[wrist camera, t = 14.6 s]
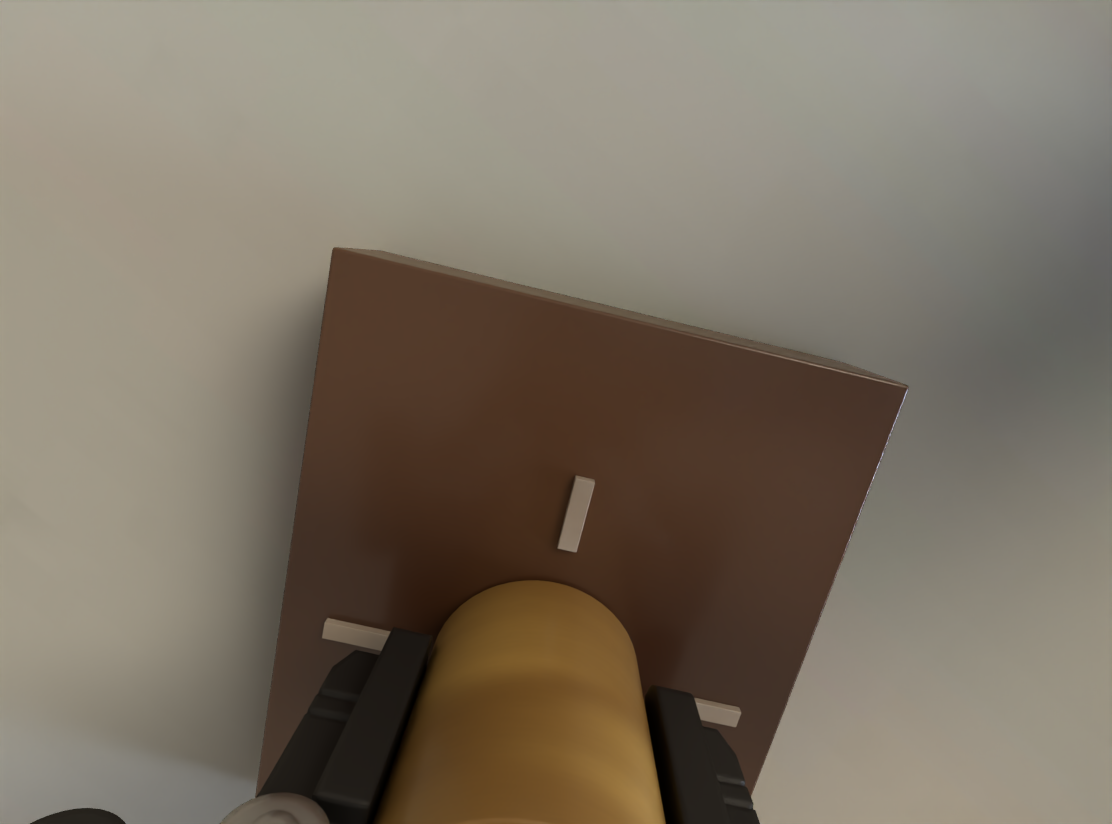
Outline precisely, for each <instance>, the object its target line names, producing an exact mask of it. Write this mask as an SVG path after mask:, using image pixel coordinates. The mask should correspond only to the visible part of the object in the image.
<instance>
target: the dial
mask: <svg viewBox="0 0 1112 824" xmlns="http://www.w3.org/2000/svg"><path fill="white" fill-rule="evenodd" d="M372 824H666V822H665V816H664V811H663V805H662V799H661V794H660V788H659V782H658V777H657V771H656V765H655V760H654V754H653V748H652V743H651V737H650V732H649V726H648V720H647V715H646V709H645V703H644V698H643V692H642V686H641V681H640V675H639V669H638V664H637V658H636V654H635V650H634V647H633V644H632V642H631V639H630V637H629V635H628V633H627V631H626V630H625V628H624V627H623V625H622V624H621V622H620V621H619V620H618V619H617V618H616V616H615V615H614V614H613V613H612V612H611V611H610V610H609V609H608V608H606V607H605V606H604V605H603V604H602V603H600V602H599V601H597V600H596V599H595V598H593V597H592V596H590V595H588V594H586V593H584V592H582V591H580V590H578V589H575V588H573V587H570V586H567V585H563V584H559V583H555V582H549V581H540V580H523V581H515V582H509V583H505V584H501V585H497V586H495V587H492V588H489V589H487V590H484V591H482V592H481V593H479V594H477V595H475V596H473V597H472V598H470V599H469V600H467V601H466V602H465V603H463V604H462V605H461V606H460V607H459V608H458V609H457V610H456V611H455V612H453V613H452V615H451V616H450V617H449V618H448V620H447V621H446V622H445V624H444V625H443V627H442V629H441V630H440V632H439V634H438V636H437V639H436V641H435V644H434V647H433V650H432V652H431V655H430V658H429V661H428V664H427V667H426V670H425V673H424V675H423V678H422V681H421V684H420V687H419V690H418V693H417V695H416V698H415V701H414V704H413V707H412V710H411V713H410V715H409V718H408V721H407V724H406V727H405V730H404V733H403V736H402V738H401V741H400V744H399V747H398V750H397V753H396V756H395V758H394V761H393V764H392V767H391V770H390V773H389V776H388V779H387V781H386V784H385V787H384V790H383V793H382V796H381V799H380V801H379V804H378V807H377V810H376V813H375V816H374V819H373V822H372Z"/></svg>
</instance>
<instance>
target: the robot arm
mask: <svg viewBox="0 0 1112 824" xmlns="http://www.w3.org/2000/svg"><path fill="white" fill-rule="evenodd" d="M431 643H432V635H428V634H423V633H419V632H414V631H410V630H405V629H400V628H396V627H393V628H392V630H391V632H390V634H389V636H388V638H387V640H386V642H385V644H384V646H383V648H382V651H381V653H380V655H377V654H373V653H368V652H363V651H359V650H355V651H353V652H352V653H350V654H349V655H348V656H346V657H345V658H344V659H342V660H341V661H340V662H338V663H337V664H335V665H334V666H333V667H332V669H331V670H330V672H329V674H328V675H327V677H326V679H325V681H324V682H323V684H322V686H321V687H320V689H319V692H318V694H316V696H315V698H314V699H313V701H312V703H311V705H310V706H309V708H308V711H307V714H305V715H304V717H303V718H302V720H301V722H300V724H299V725H298V727H297V729H296V730H295V732H294V734H293V736H292V737H291V739H290V741H289V742H288V744H287V746H286V748H285V749H284V751H283V753H282V755H281V756H280V758H279V760H278V761H277V763H276V765H275V767H274V768H273V770H272V772H271V773H270V775H269V777H268V779H267V780H266V782H265V784H264V785H263V787H262V789H261V790H260V792H259V793H258V795H257V796H256V798H254V799H251V800H249V801H247V802H246V803H244V804H242V805H240V806H239V807H237V808H236V809H235V810H233V811H232V812H231V813H230V814H229V815H227V816H226V817H225V818H224V819H223V821H222V822H221V823H220V824H372V822H373V819H374V816H375V813H376V810H377V807H378V804H379V801H380V799H381V796H382V793H383V790H384V787H385V784H386V781H387V779H388V776H389V773H390V770H391V767H392V764H393V761H394V758H395V756H396V753H397V750H398V747H399V744H400V741H401V738H402V736H403V733H404V730H405V727H406V724H407V721H408V718H409V715H410V713H411V710H412V707H413V704H414V701H415V698H416V695H417V693H418V690H419V687H420V684H421V681H422V678H423V675H424V673H425V670H426V667H427V662H428V658H429V653H430V648H431ZM644 703H645V709H646V715H647V720H648V726H649V732H650V737H651V743H652V748H653V754H654V760H655V765H656V771H657V777H658V782H659V788H660V794H661V799H662V805H663V811H664V816H665V822H666V824H760V823H759V820H758V817H757V814H756V811H755V810H753V802H752V799H751V796H750V793H749V791H748V788H747V787H745V779H744V776H743V773H742V770H741V767H740V764H739V761H738V758H737V755H736V754H735V752H734V751H733V750H732V748H731V747H730V746H729V744H728V743H727V742H726V740H725V739H724V738H723V736H722V735H721V734H720V732H719V731H718V730H717V729H714V728H709V727H704V726H702V723H701V719H700V716H699V712H698V709H697V705H696V702H695V699H694V696H693V695H692V694H691V693H689V692H684V691H680V690H675V689H670V688H666V687H661V686H657V685H651V686H650V687H649V688H648V690H647V693H646V695H645V698H644ZM30 824H125V822H124V821H123V820H122V819H121V818H120V817H118V816H117V815H115V814H113V813H111V812H109V811H105V810H101V809H93V808H82V809H72V810H67V811H62V812H59V813H55V814H52V815H49V816H46V817H44V818H41V819H39V820H36V821H34V822H32V823H30Z"/></svg>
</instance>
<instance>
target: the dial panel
mask: <svg viewBox="0 0 1112 824" xmlns="http://www.w3.org/2000/svg"><path fill="white" fill-rule="evenodd" d="M908 390H909V387H908V386H907V385H905V384H903V383H900V382H897V381H894V380H891V379H889V378H886V377H883V376H880V375H877V374H874V373H872V372H869V371H866V370H863V369H860V368H858V367H855V366H852V365H849V364H846V363H843V362H839V361H835V360H831V359H827V358H823V357H818V356H814V355H810V354H806V353H802V352H798V351H794V350H789V349H785V348H781V347H777V346H773V345H769V344H765V343H761V342H756V341H752V340H748V339H744V338H740V337H736V336H732V335H727V334H723V333H719V332H715V331H711V330H707V329H703V328H698V327H694V326H690V325H686V324H682V323H678V322H674V321H670V320H665V319H661V318H657V317H653V316H649V315H645V314H641V313H636V312H632V311H628V310H624V309H620V308H616V307H612V306H607V305H603V304H599V303H595V302H591V301H587V300H583V299H579V298H574V297H570V296H566V295H562V294H558V293H554V292H550V291H545V290H541V289H537V288H533V287H529V286H525V285H521V284H516V283H512V282H508V281H504V280H500V279H496V278H492V277H488V276H483V275H479V274H475V273H471V272H467V271H463V270H459V269H454V268H450V267H446V266H442V265H438V264H434V263H430V262H425V261H421V260H417V259H413V258H409V257H405V256H401V255H397V254H392V253H388V252H384V251H380V250H366V249H353V248H339V247H335V248H333V250H332V256H331V264H330V271H329V278H328V285H327V292H326V299H325V306H324V313H323V320H322V327H321V334H320V342H319V349H318V356H317V363H316V370H315V377H314V384H313V391H312V398H311V405H310V412H309V420H308V427H307V434H306V441H305V448H304V455H303V462H302V469H301V476H300V483H299V491H298V498H297V505H296V512H295V519H294V526H293V533H292V540H291V547H290V554H289V561H288V569H287V576H286V583H285V590H284V597H283V604H282V611H281V618H280V625H279V632H278V639H277V647H276V654H275V661H274V668H273V675H272V682H271V689H270V696H269V703H268V710H267V718H266V725H265V732H264V739H263V746H262V753H261V760H260V767H259V774H258V781H257V788H256V796H257V795H258V793H259V792H260V790H261V789H262V787H263V785H264V784H265V782H266V780H267V779H268V777H269V775H270V773H271V772H272V770H273V768H274V767H275V765H276V763H277V761H278V760H279V758H280V756H281V755H282V753H283V751H284V749H285V748H286V746H287V744H288V742H289V741H290V739H291V737H292V736H293V734H294V732H295V730H296V729H297V727H298V725H299V724H300V722H301V720H302V718H303V717H304V715H305V714H307V711H308V708H309V706H310V705H311V703H312V701H313V699H314V698H315V696H316V694H318V692H319V689H320V687H321V686H322V684H323V682H324V681H325V679H326V677H327V675H328V674H329V672H330V670H331V669H332V667H333V666H334V665H335V664H337V663H338V662H340V661H341V660H342V659H344V658H345V657H346V656H348V655H349V654H350V653H352V652H353V651H355V650H359V651H363V652H368V653H373V654H377V655H380V653H381V651H382V648H383V646H384V644H385V642H386V640H387V638H388V636H389V634H390V632H391V630H392V628H393V627H396V628H400V629H405V630H410V631H414V632H419V633H423V634H428V635H432V643H431V648H430V653H429V658H430V655H431V652H432V650H433V647H434V644H435V641H436V639H437V636H438V634H439V632H440V630H441V629H442V627H443V625H444V624H445V622H446V621H447V620H448V618H449V617H450V616H451V615H452V613H453V612H455V611H456V610H457V609H458V608H459V607H460V606H461V605H462V604H463V603H465V602H466V601H467V600H469V599H470V598H472V597H473V596H475V595H477V594H479V593H481V592H482V591H484V590H487V589H489V588H492V587H495V586H497V585H501V584H505V583H509V582H515V581H523V580H540V581H549V582H555V583H559V584H563V585H567V586H570V587H573V588H575V589H578V590H580V591H582V592H584V593H586V594H588V595H590V596H592V597H593V598H595V599H596V600H597V601H599V602H600V603H602V604H603V605H604V606H605V607H606V608H608V609H609V610H610V611H611V612H612V613H613V614H614V615H615V616H616V618H617V619H618V620H619V621H620V622H621V624H622V625H623V627H624V628H625V630H626V631H627V633H628V635H629V637H630V639H631V642H632V644H633V647H634V650H635V654H636V658H637V664H638V669H639V675H640V681H641V686H642V692H643V698H645V695H646V693H647V690H648V688H649V687H650V686H651V685H657V686H661V687H666V688H670V689H675V690H680V691H684V692H689V693H691V694H692V695H693V696H694V699H695V702H696V705H697V709H698V712H699V716H700V719H701V723H702V726H704V727H709V728H714V729H717V730H718V731H719V732H720V734H721V735H722V736H723V738H724V739H725V740H726V742H727V743H728V744H729V746H730V747H731V748H732V750H733V751H734V752H735V754H736V755H737V758H738V761H739V764H740V767H741V770H742V773H743V776H744V779H745V787H747V788H748V791H749V793H750V796H751V795H752V792H753V790H754V787H755V785H756V782H757V779H758V777H759V774H760V772H761V769H762V767H763V764H764V761H765V759H766V756H767V754H768V751H769V748H770V746H771V743H772V741H773V738H774V736H775V733H776V730H777V728H778V725H779V723H780V720H781V717H782V715H783V712H784V710H785V707H786V705H787V702H788V699H789V697H790V694H791V692H792V689H793V687H794V684H795V681H796V679H797V676H798V674H799V671H800V668H801V666H802V663H803V661H804V658H805V656H806V653H807V650H808V648H809V645H810V643H811V640H812V637H813V635H814V632H815V630H816V627H817V625H818V622H819V619H820V617H821V614H822V612H823V609H824V606H825V604H826V601H827V599H828V596H829V594H830V591H831V588H832V586H833V583H834V581H835V578H836V575H837V573H838V570H839V568H840V565H841V563H842V560H843V557H844V555H845V552H846V550H847V547H848V544H849V542H850V539H851V537H852V534H853V532H854V529H855V526H856V524H857V521H858V519H859V516H860V514H861V511H862V508H863V506H864V503H865V501H866V498H867V495H868V493H869V490H870V488H871V485H872V483H873V480H874V477H875V475H876V472H877V470H878V467H879V464H880V462H881V459H882V457H883V454H884V452H885V449H886V446H887V444H888V441H889V439H890V436H891V433H892V431H893V428H894V426H895V423H896V421H897V418H898V415H899V413H900V410H901V408H902V405H903V402H904V400H905V397H906V395H907V392H908ZM429 658H428V661H429ZM427 664H428V662H427ZM256 796H255V798H256Z"/></svg>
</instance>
